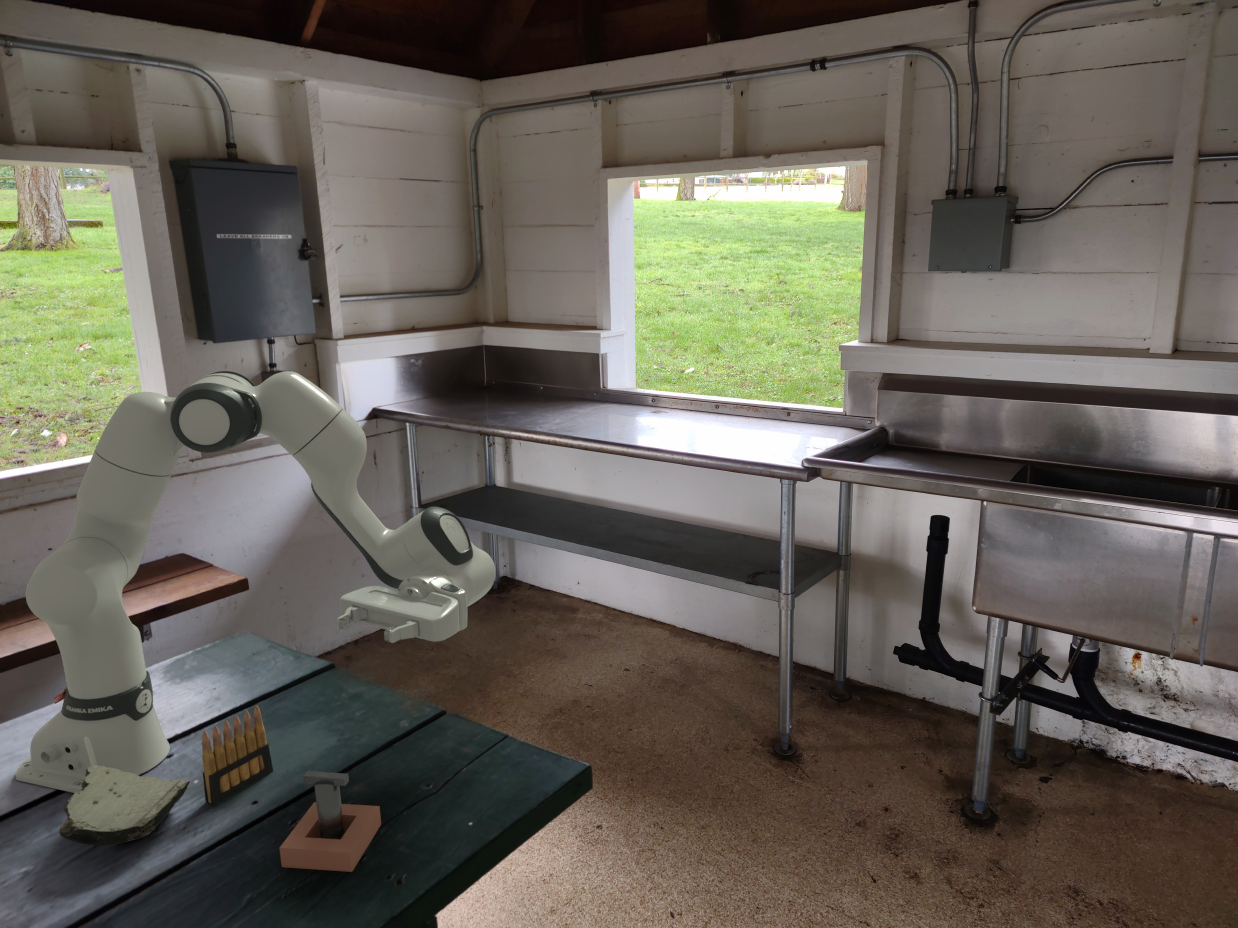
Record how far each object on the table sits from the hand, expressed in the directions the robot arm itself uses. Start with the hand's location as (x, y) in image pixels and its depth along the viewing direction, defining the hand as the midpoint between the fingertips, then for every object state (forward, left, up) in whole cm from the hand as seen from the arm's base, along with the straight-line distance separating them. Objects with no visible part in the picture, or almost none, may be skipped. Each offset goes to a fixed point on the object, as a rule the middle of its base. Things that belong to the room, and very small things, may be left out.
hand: (363, 630), depth 126 cm
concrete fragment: (-33, -14, -27) cm, 45 cm away
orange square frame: (-1, -13, -26) cm, 30 cm away
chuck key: (-1, -13, -26) cm, 30 cm away
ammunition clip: (-22, -1, -27) cm, 35 cm away
